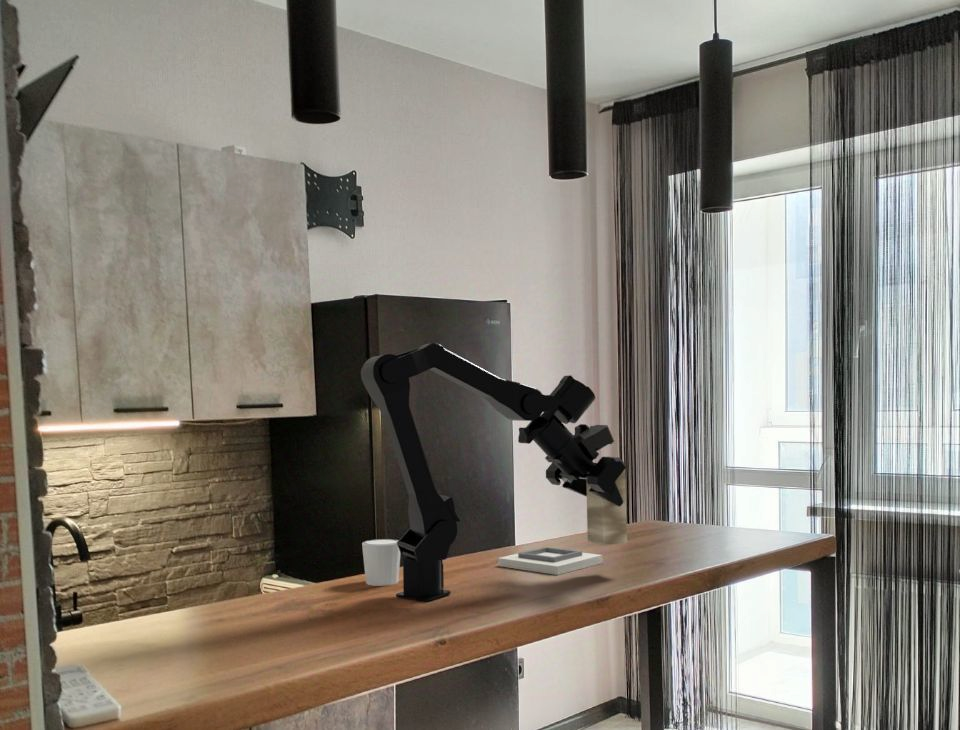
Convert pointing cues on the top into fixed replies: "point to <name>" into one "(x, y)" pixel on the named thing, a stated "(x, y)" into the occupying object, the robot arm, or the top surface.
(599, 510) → the maple pillar
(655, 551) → the top surface
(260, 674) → the top surface
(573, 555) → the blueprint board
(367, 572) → the white cup
